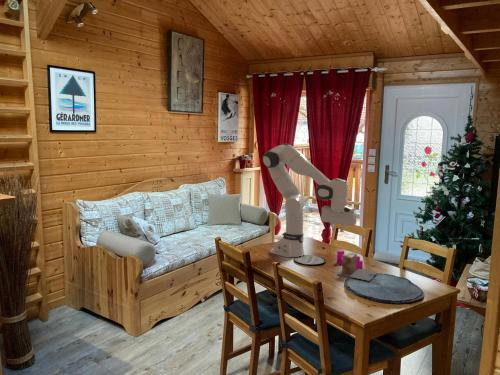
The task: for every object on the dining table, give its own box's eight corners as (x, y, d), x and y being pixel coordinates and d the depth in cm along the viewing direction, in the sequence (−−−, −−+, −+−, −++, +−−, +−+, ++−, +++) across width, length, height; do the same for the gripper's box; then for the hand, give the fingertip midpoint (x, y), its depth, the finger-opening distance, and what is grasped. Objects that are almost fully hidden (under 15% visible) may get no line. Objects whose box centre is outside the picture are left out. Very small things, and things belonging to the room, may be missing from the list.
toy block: (362, 268, 243) (363, 256, 242) (354, 269, 240) (355, 257, 239) (344, 261, 256) (344, 249, 255) (336, 263, 252) (337, 251, 251)
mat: (337, 275, 229) (337, 273, 229) (347, 268, 242) (347, 266, 242) (369, 282, 219) (369, 280, 219) (377, 274, 232) (377, 272, 232)
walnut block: (341, 272, 231) (342, 255, 230) (347, 268, 239) (348, 251, 237) (350, 274, 228) (351, 256, 227) (356, 270, 236) (357, 253, 235)
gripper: (319, 206, 236) (318, 229, 238) (354, 210, 225) (352, 234, 227) (323, 204, 241) (322, 227, 243) (358, 208, 230) (356, 232, 232)
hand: (337, 231), depth 235 cm, fingers open, 3 cm apart
